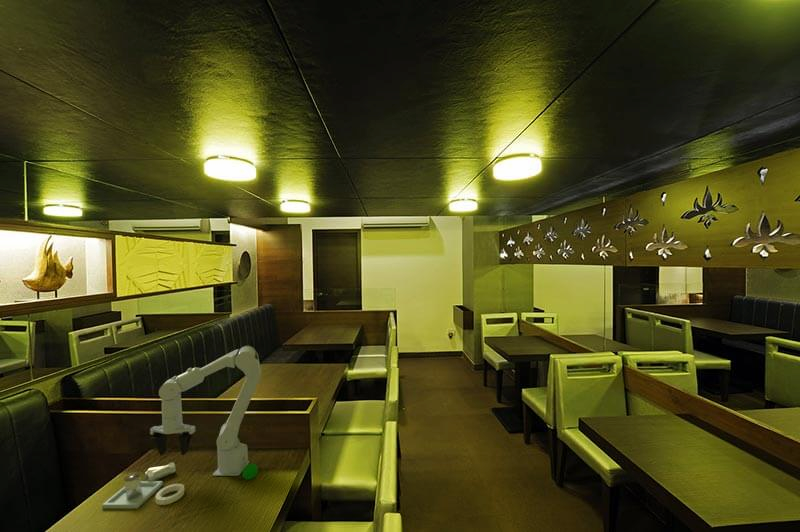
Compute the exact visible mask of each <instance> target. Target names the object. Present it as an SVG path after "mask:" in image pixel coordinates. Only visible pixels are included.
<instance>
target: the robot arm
mask: <svg viewBox="0 0 800 532" xmlns="http://www.w3.org/2000/svg"><path fill="white" fill-rule="evenodd" d="M226 367H227V368H232V369H235V367H237V368H238V369H239V370H240V371H242V372H243V374H244V376H245V380H244V382H243V384H242V387H241V389H240V391H239V393H238V396H237V399H236V401H235V403H234V405H233V407H232V409H231V412H230V415H229V417H228V418H227V419H226V421H225V422H224V423H223V424H222V426H221V427H220V431H219V435H218V437H217V438H216V447H217V449H216V450H217V469H216V470H215V471H214V472H213V474H212V476H213V477H217V476H219V477H221V476H223V477H224V476H226V477H227V476H228V477H229V476H231V477H232V476H236V477H237V476H240V475H241V474H242V471H243V469H244V467H245V466H246V465H248V464H249V463H250V461H249V455H248V454H249V451H248V450H249V449H248V448H249V447H248V445H247V444H246V443H241V442H240V439H239V437H238V434H239V431H240V426H241V423H242V421H243V418H244V416H245V413H246V411H247V409H248V407H249V404H250V402H251V399H252V398H253V395H254V393H255V391H256V389H257V386H258V384H259V382H260V379H261V376H262V369H261V364H260V359H259V354H258V352H257V351H256V349H255V348H254V347H253V346H251V345H245V346H242V347H240V348H238V349H235V350H232V351H231V352H228V353H227V354H225V355H223V356H221V357H219V358H217V359H215V360H214V361H211V362H210V363H208V364H207V365H204V366H203V367H196V366H195V367H193V368H192V367H189V368H187V369H186V371H185V372H183V373H181V374H179V375H174V376H173V377H171V378H170V379H167V380H166V381H165V382H164V383H163V384H162V385H161V386H160V388H159V389H158V396H159V397H160V399H161V421H162V423H161V425H158V426H157V425H154V426H152V427H151V428H150V429H149V431H150V432H149V434H150V435H152V436H151V437H150V441H152V443H154V446H156V449H157V450H158V453H159V456H163V455H164V454H165V453H166V452H167V436H168V435H171V434H180V435H179V436H178V437H177V439H178V441H179V444H180V452H181V453H180V454H181V456H185V455H186V454H187V453H188V452H189V446H190V443H191V439H192V438H193V436H194V434H195V433H196V426H195V425H190V424H185V423H183V411H182V410H183V409H182V408H183V407H182V405H183V404H182V393H183V392H186V391H188V390H190V389H192V388H193V387H196V386H197V385H199V384H201V383H203V381H204V380H205V377H207V376H209V375H211V374H213V373H216V372H217V371H219V370H222V369H224V368H226Z"/></svg>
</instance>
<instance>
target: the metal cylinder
mask: <svg viewBox="0 0 800 532" xmlns="http://www.w3.org/2000/svg"><path fill="white" fill-rule="evenodd" d="M141 481H142V480H141V472H140V471H134V472H131V473H129V474H127V475H126V476H125V477H124V486H125V490H126V499H127V500H131V499H135V498H137V497H138V496H140V495H141V493H142V489H141Z"/></svg>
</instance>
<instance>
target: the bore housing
mask: <svg viewBox="0 0 800 532" xmlns="http://www.w3.org/2000/svg"><path fill="white" fill-rule="evenodd" d="M171 492H175V493H173V494H172V495H169V496H165V495H166V494H168V493H171ZM184 495H185V485H184V484H183V483H173V484H169V485H167V486H165V487H163V488H160V489H159V490H158V491H157V493H155V503H156V505H159V506H166V505H170V504H172V503H174V502H176V501H178V500H180V499H181V498H182V497H183V496H184Z"/></svg>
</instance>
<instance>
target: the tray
mask: <svg viewBox="0 0 800 532" xmlns="http://www.w3.org/2000/svg"><path fill="white" fill-rule="evenodd" d="M163 483H164V482H163V481H162V480H156V481H146V480H145V481H143V480H141V489H142V493H141V495H140V496H138V497H137V498H135V499H131V500H127V499H126V490H125V485H124V486H123V487H122V488H121V489H119V490H118V491H117V492H115V493H114V494H113V495H112V496H111V497H109V498H108V499H107V500H105V502H103V503H102V504H101V509H102V510H138V509H139V508H140V507H142V505H143V504H145V502H147V500H148V499H150V498H151V497H152V496H153V495H154V494H156V492H158V491H159V490H160V489H161V487H163V486H164V484H163Z"/></svg>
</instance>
